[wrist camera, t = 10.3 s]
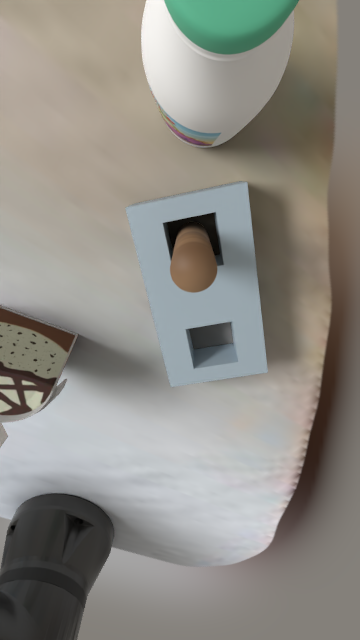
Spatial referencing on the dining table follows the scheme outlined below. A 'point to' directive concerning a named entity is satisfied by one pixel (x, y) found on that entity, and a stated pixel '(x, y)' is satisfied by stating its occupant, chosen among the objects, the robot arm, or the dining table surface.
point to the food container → (30, 363)
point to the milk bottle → (214, 62)
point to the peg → (193, 259)
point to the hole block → (212, 303)
